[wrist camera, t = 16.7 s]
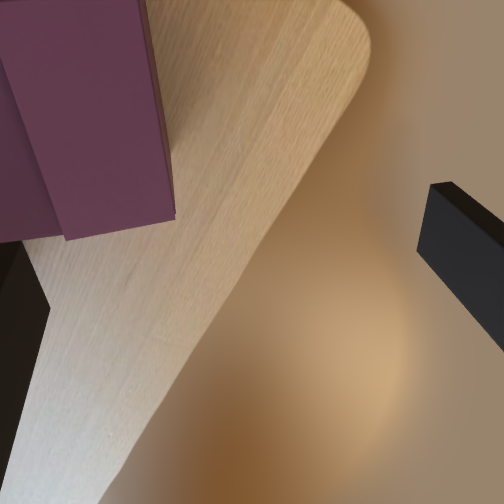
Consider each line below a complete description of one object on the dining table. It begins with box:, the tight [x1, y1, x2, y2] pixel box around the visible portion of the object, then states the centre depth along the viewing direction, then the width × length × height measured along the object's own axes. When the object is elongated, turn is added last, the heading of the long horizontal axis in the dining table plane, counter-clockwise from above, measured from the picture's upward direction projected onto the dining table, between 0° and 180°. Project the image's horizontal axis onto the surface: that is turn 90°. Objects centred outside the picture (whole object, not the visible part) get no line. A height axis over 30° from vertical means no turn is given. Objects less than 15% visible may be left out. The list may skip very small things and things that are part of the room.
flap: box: [0, 0, 175, 241], centre depth 24 cm, size 7×13×1 cm, turn 2°
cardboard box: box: [0, 0, 176, 243], centre depth 28 cm, size 14×13×11 cm
